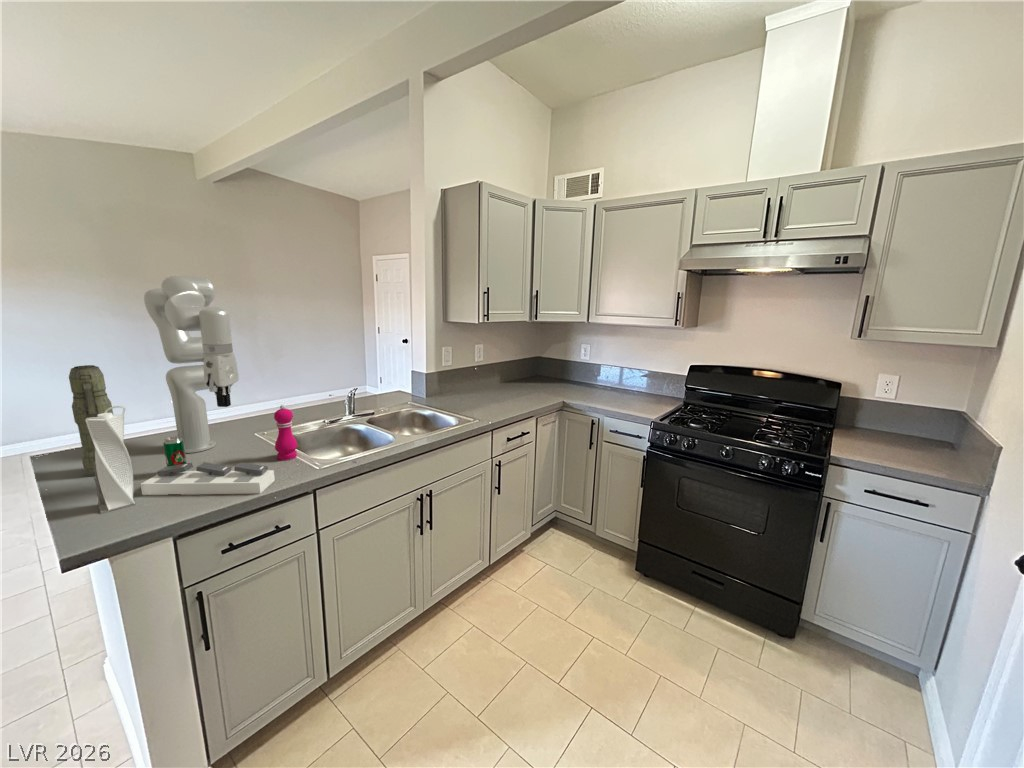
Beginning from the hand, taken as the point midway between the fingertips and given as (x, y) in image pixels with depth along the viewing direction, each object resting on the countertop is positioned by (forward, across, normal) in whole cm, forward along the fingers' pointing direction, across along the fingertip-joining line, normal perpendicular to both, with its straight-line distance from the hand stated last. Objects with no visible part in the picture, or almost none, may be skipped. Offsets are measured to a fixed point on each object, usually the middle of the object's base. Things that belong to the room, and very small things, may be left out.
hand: (224, 406), depth 130 cm
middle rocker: (+19, -8, 0) cm, 20 cm away
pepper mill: (+24, +14, -12) cm, 30 cm away
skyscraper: (+24, -20, +18) cm, 36 cm away
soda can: (+24, +1, +17) cm, 30 cm away
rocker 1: (+19, -8, +11) cm, 24 cm away
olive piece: (+25, +3, +41) cm, 48 cm away
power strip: (+23, -10, 0) cm, 25 cm away
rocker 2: (+18, -8, -11) cm, 23 cm away
